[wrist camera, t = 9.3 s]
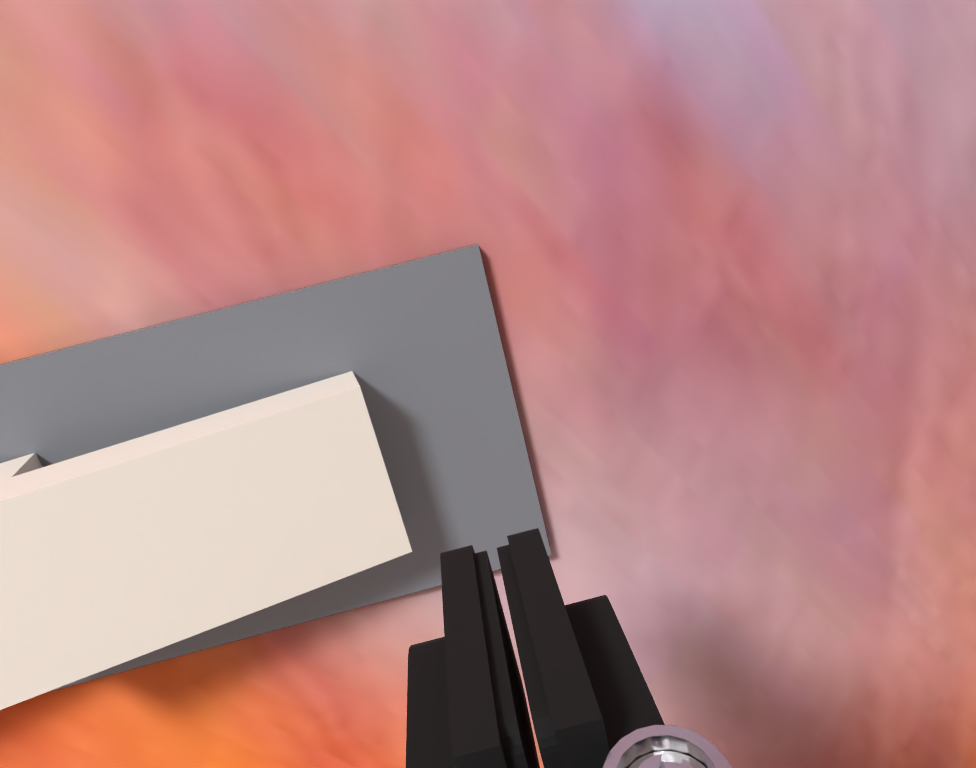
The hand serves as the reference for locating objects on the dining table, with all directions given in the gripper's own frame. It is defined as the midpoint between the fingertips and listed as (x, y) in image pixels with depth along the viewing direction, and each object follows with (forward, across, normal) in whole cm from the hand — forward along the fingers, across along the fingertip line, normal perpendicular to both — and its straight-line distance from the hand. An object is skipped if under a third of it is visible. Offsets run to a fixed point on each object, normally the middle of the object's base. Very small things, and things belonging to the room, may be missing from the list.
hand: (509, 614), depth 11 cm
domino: (+8, +3, 0) cm, 8 cm away
